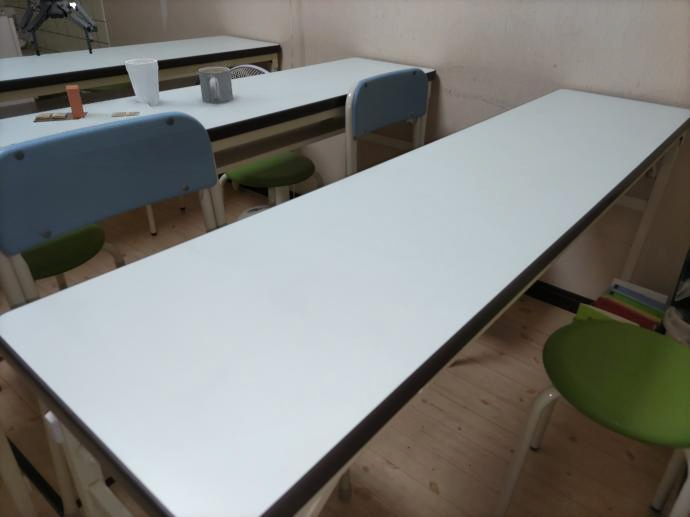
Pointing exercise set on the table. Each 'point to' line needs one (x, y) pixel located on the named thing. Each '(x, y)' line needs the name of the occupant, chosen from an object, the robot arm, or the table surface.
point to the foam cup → (144, 80)
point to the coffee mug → (216, 84)
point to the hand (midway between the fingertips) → (64, 52)
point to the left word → (55, 117)
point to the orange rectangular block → (75, 101)
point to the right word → (123, 114)
